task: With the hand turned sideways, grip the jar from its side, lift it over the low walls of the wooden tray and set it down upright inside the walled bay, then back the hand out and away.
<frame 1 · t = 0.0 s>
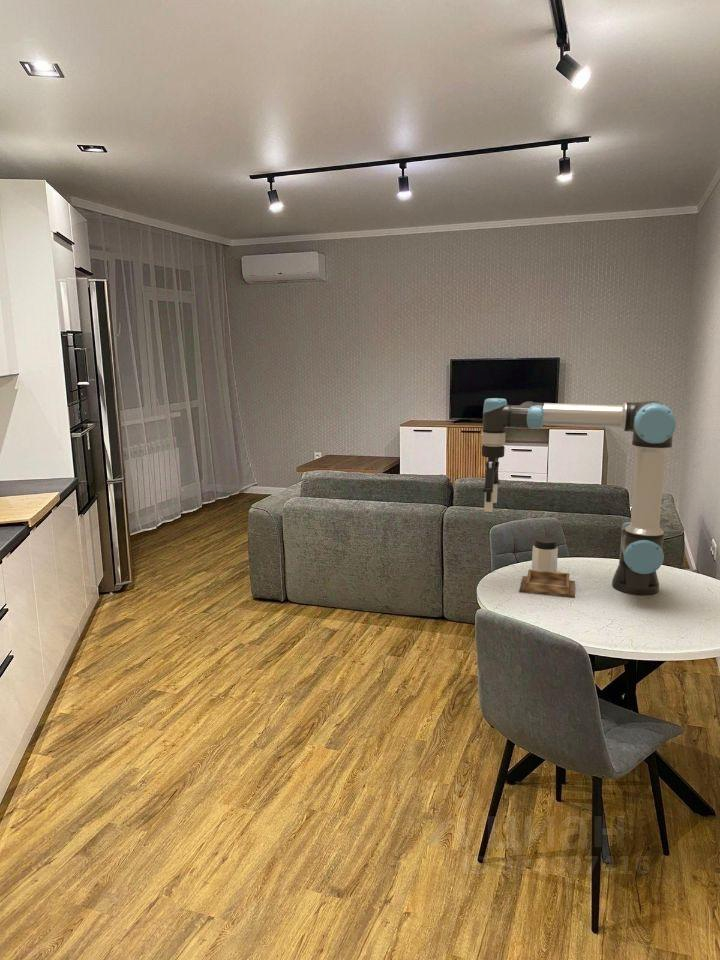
hand: (490, 506, 243), 28 cm above the table, tool pointing down, fingers open, 13 cm apart
jar: (543, 571, 264), on the table
wooden tray: (547, 587, 246), on the table
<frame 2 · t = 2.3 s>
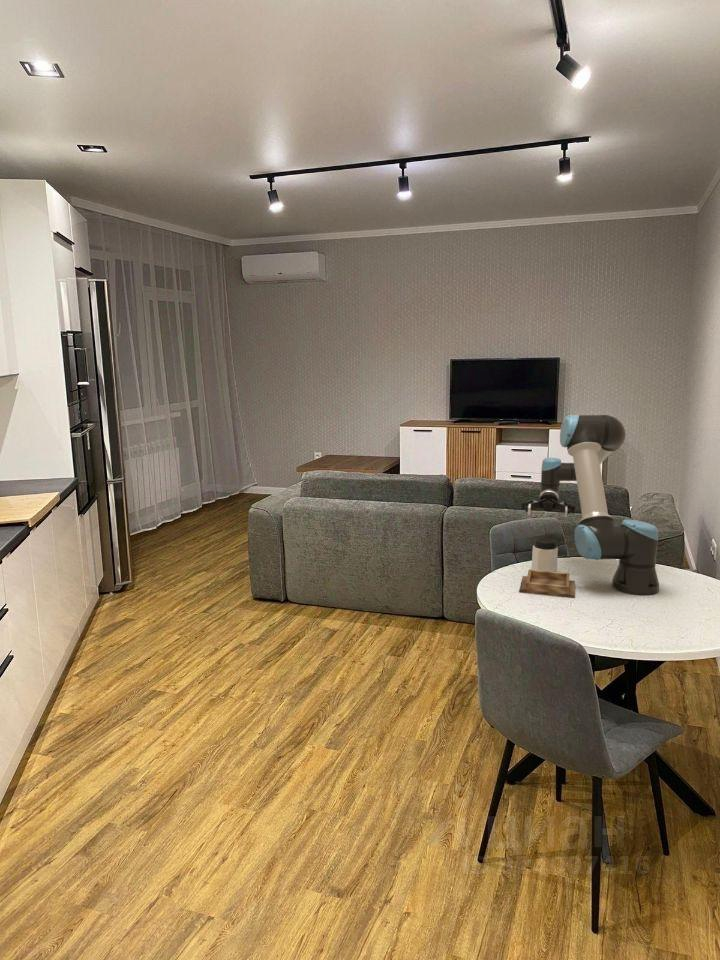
hand: (547, 512, 269), 20 cm above the table, tool horizontal, fingers open, 13 cm apart
nothing on the table moved.
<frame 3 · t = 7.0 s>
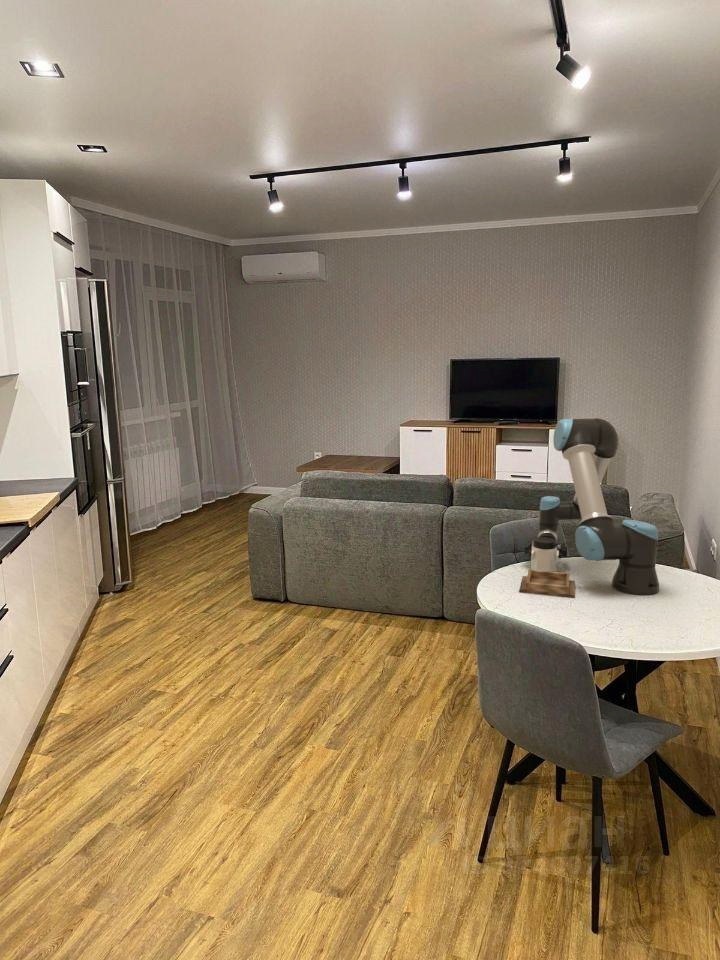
hand: (544, 557, 258), 7 cm above the table, tool horizontal, fingers open, 8 cm apart
jar: (543, 571, 264), on the table, touching gripper
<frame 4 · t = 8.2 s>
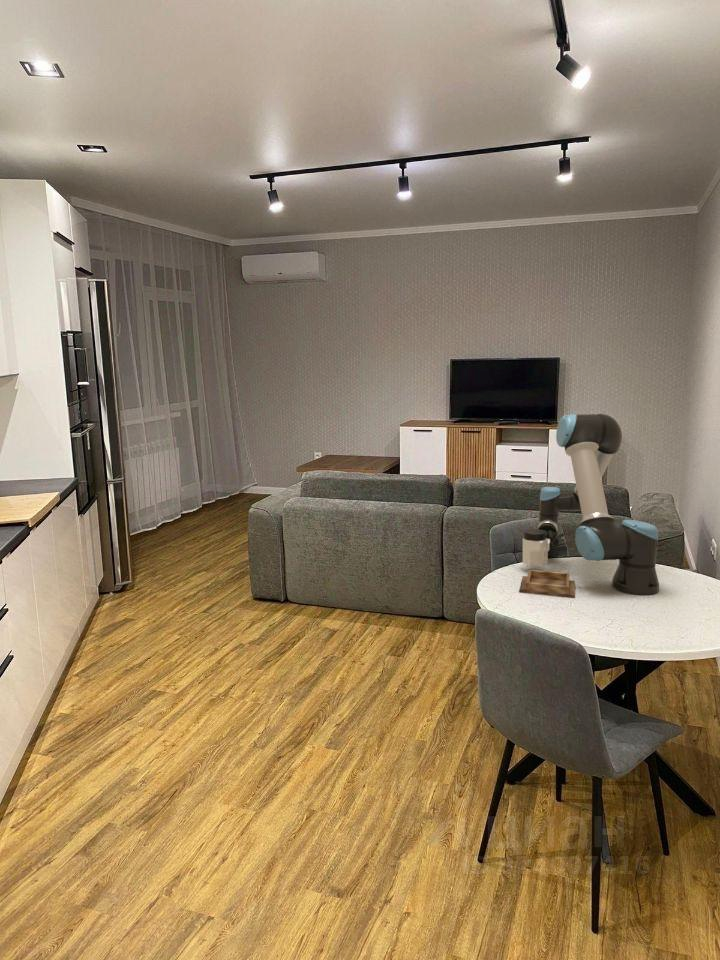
hand: (544, 546, 257), 11 cm above the table, tool horizontal, fingers closed on jar, 2 cm apart
jar: (535, 563, 264), point 3 cm above the table, touching gripper, hand
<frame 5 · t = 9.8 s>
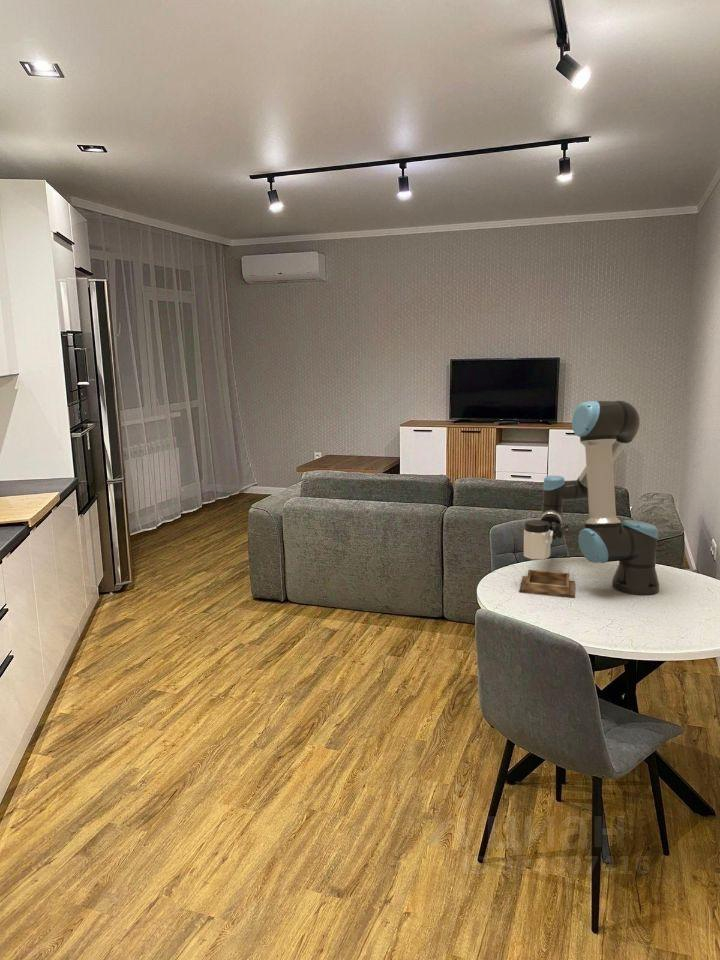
hand: (547, 539, 241), 18 cm above the table, tool horizontal, fingers closed on jar, 2 cm apart
jar: (537, 557, 247), point 10 cm above the table, touching gripper, hand
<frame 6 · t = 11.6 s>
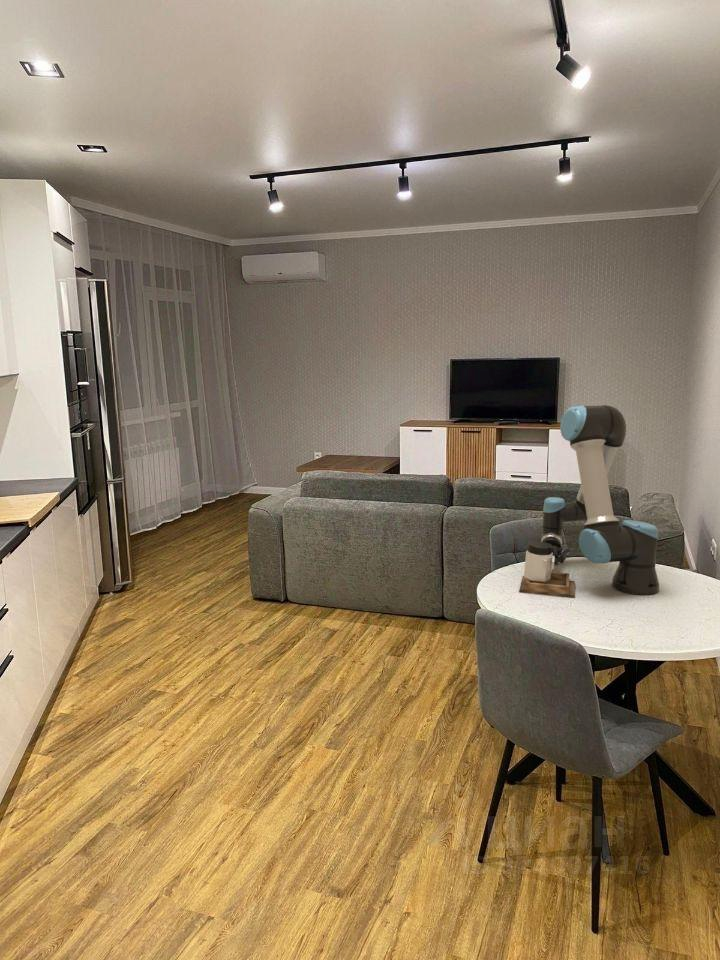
hand: (548, 565, 239), 10 cm above the table, tool horizontal, fingers closed
jar: (537, 578, 246), point 3 cm above the table, touching gripper
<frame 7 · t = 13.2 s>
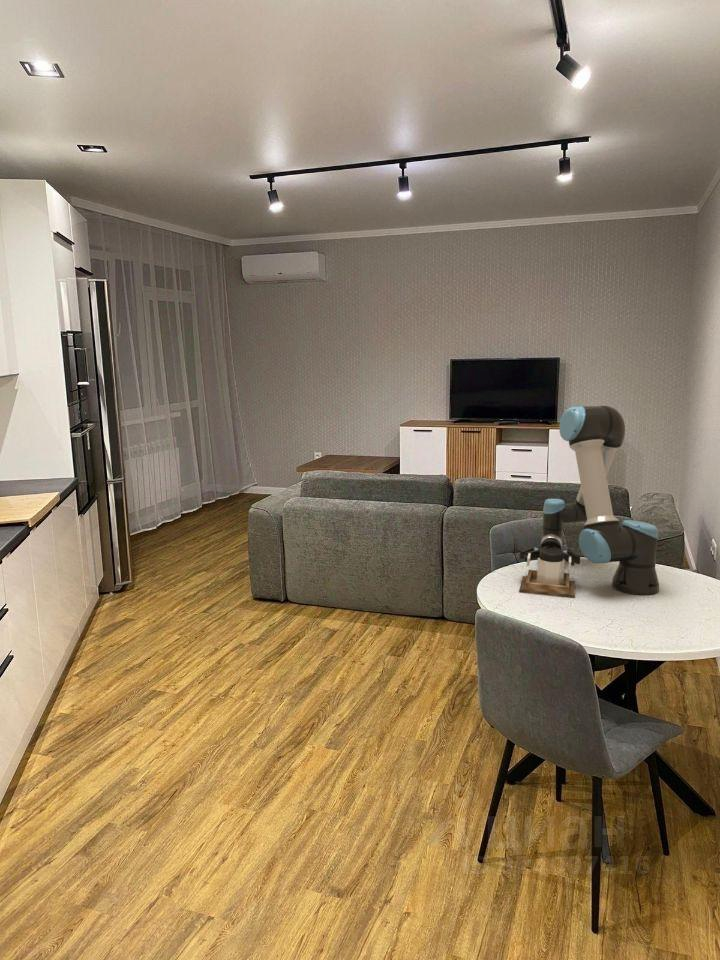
hand: (548, 564, 241), 10 cm above the table, tool horizontal, fingers open, 13 cm apart
jar: (549, 585, 246), point 1 cm above the table, touching wooden tray
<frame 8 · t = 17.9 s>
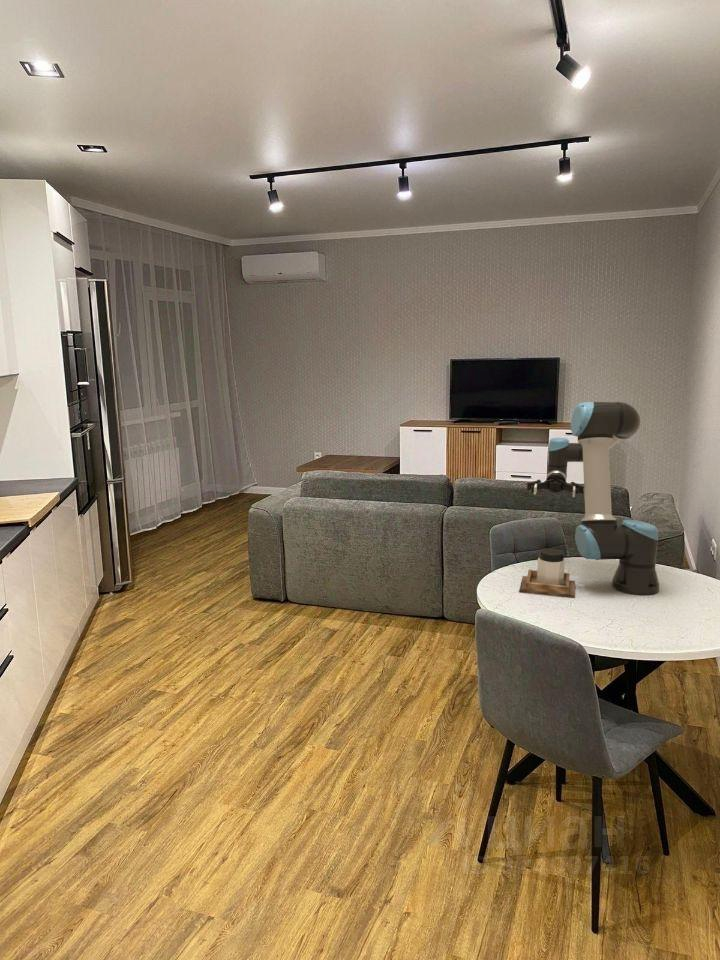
hand: (554, 492, 258), 30 cm above the table, tool horizontal, fingers open, 13 cm apart
nothing on the table moved.
at the end: jar 0.8 cm off-centre on the wooden tray, point 0.8 cm above the wooden tray's base; jar tilted 0°; the gripper is holding nothing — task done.
